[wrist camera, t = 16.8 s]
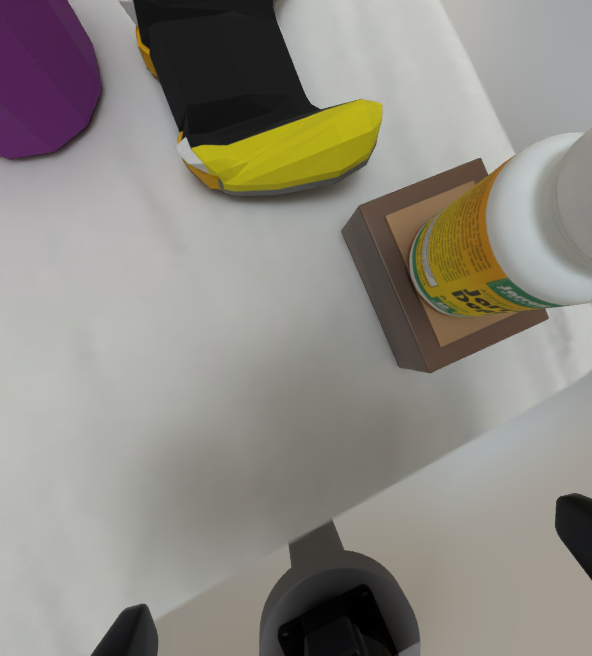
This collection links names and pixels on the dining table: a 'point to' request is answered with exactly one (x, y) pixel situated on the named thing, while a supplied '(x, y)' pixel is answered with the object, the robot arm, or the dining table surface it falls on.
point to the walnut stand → (397, 285)
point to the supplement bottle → (513, 236)
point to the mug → (43, 76)
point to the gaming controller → (246, 99)
